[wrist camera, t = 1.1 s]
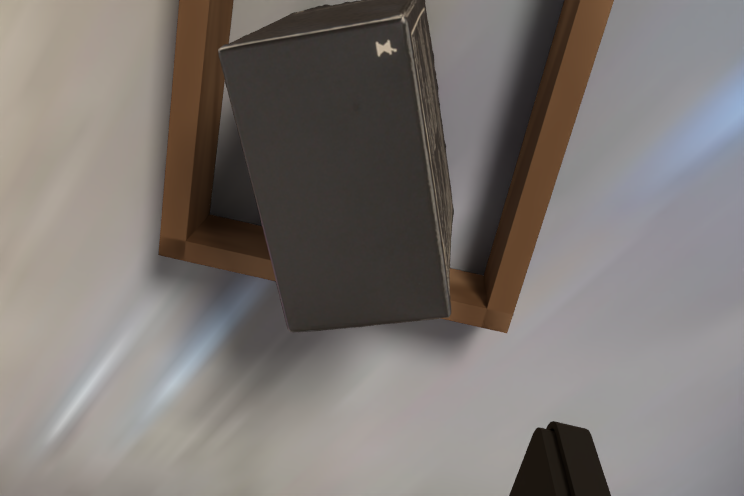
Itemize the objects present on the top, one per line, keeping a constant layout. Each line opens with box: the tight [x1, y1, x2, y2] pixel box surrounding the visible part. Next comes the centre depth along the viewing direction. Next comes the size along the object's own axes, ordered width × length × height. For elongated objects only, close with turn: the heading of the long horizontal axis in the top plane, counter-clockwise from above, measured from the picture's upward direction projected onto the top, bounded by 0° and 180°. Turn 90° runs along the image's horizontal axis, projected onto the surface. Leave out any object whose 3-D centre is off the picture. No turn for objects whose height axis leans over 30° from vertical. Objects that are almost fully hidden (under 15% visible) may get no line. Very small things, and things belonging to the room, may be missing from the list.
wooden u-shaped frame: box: [159, 0, 614, 333], centre depth 30 cm, size 16×20×4 cm
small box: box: [218, 0, 454, 332], centre depth 28 cm, size 11×6×10 cm, turn 10°
